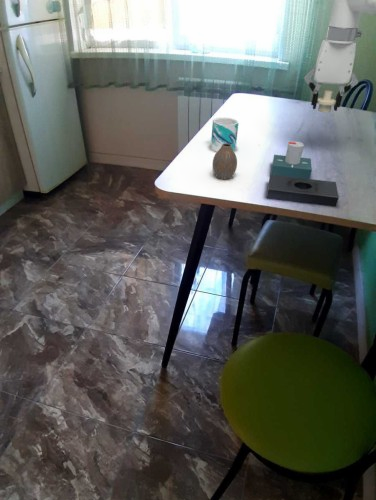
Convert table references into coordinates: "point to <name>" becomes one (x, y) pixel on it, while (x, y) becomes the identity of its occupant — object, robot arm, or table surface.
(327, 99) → the stopper
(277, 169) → the panel
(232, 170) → the vase
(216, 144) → the mug
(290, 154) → the tap knob
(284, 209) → the table surface
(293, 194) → the black plate with hole
